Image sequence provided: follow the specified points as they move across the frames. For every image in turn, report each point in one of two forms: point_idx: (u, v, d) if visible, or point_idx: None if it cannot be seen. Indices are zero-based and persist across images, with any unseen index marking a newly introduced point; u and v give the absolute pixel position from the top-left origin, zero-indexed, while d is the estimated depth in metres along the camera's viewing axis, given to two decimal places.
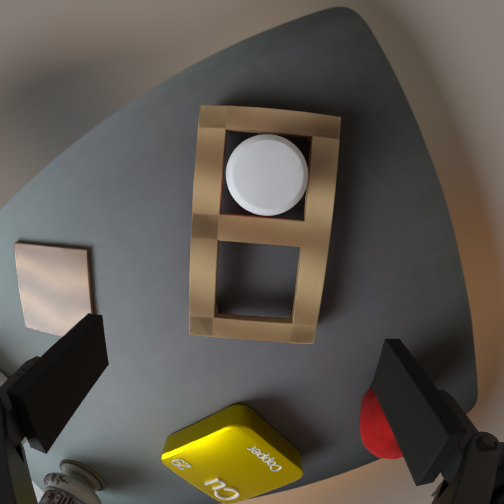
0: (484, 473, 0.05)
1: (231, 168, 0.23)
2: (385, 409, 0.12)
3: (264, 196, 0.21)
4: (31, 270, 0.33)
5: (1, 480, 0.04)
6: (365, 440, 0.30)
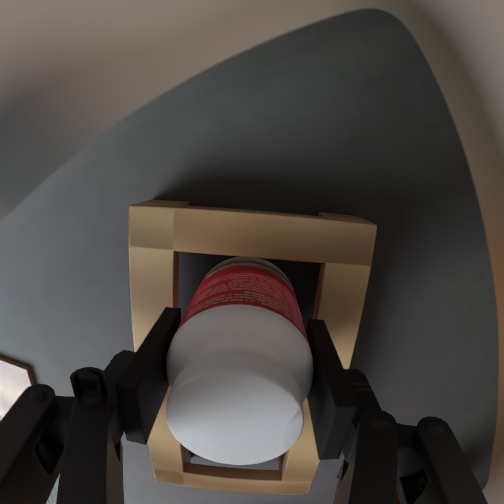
0: (383, 452, 0.07)
1: (172, 373, 0.12)
2: None
3: (228, 451, 0.10)
4: None
5: (94, 483, 0.05)
6: None
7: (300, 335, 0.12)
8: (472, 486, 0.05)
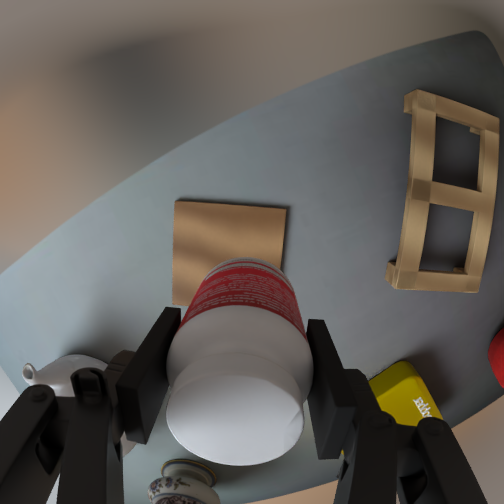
0: (383, 452, 0.07)
1: (172, 374, 0.12)
2: None
3: (228, 452, 0.10)
4: (199, 233, 0.35)
5: (94, 483, 0.05)
6: None
7: (300, 336, 0.12)
8: (472, 486, 0.05)
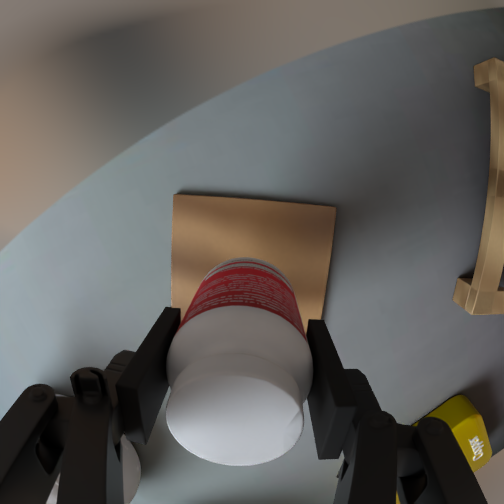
0: (383, 452, 0.07)
1: (172, 375, 0.12)
2: None
3: (227, 452, 0.10)
4: (209, 242, 0.24)
5: (94, 483, 0.05)
6: None
7: (300, 336, 0.12)
8: (472, 486, 0.05)
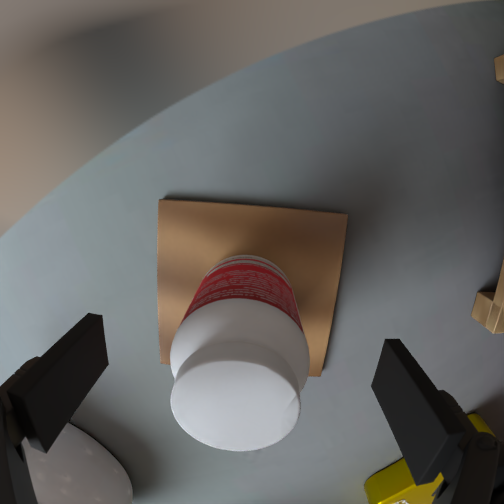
0: (484, 473, 0.05)
1: (176, 364, 0.13)
2: (385, 409, 0.12)
3: (228, 437, 0.11)
4: (200, 255, 0.20)
5: (1, 480, 0.04)
6: None
7: (297, 327, 0.13)
8: None
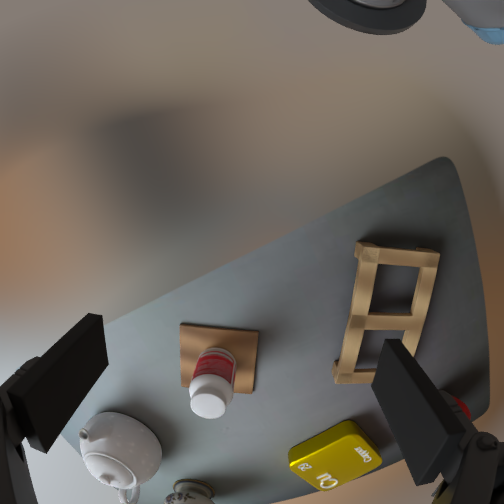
0: (484, 473, 0.05)
1: (191, 392, 0.40)
2: (385, 409, 0.12)
3: (206, 414, 0.39)
4: (198, 346, 0.48)
5: (1, 480, 0.04)
6: None
7: (227, 383, 0.41)
8: None
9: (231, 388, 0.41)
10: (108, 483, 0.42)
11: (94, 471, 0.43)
